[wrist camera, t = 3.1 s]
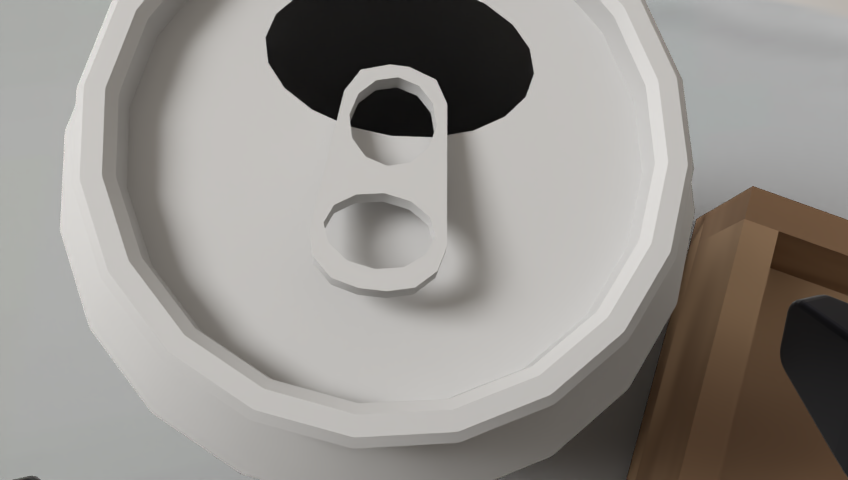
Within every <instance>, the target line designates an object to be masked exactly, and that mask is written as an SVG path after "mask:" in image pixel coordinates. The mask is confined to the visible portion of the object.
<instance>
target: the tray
mask: <svg viewBox="0 0 848 480" xmlns="http://www.w3.org/2000/svg"><path fill="white" fill-rule="evenodd" d="M816 295H829V296H831V297H834V298H837V299H839V300H842V301H844V302H847V303H848V220H846V219H843V218H841V217H838V216H835V215H832V214H829V213H827V212H824V211H821V210H818V209H815V208H813V207H810V206H807V205H804V204H801V203H799V202H796V201H793V200H790V199H787V198H785V197H782V196H779V195H776V194H773V193H771V192H768V191H765V190H762V189H759V188H757V187H754V186H752V187H751V188H749V189H747V190H745V191H744V192H742V193H740V194H739V195H737V196H735V197H734V198H732V199H730V200H728V201H727V202H725V203H723V204H722V205H720V206H718V207H716V208H715V209H713V210H711V211H710V212H708V213H706V214H704V215H703V216H701V217H699V218H698V219H696V223H695V227H694V230H693V234H692V238H691V242H690V245H689V249H688V253H687V256H686V260H685V265H684V270H683V275H682V280H681V286H680V291H679V296H678V301H677V305H676V307H675V308H674V310H673V312H672V314H671V316H670V320H669V323H668V327H667V331H666V334H665V338H664V342H663V346H662V349H661V353H660V357H659V360H658V364H657V368H656V371H655V375H654V379H653V383H652V386H651V390H650V394H649V397H648V401H647V405H646V409H645V412H644V416H643V420H642V423H641V427H640V431H639V435H638V438H637V442H636V446H635V449H634V453H633V457H632V461H631V464H630V468H629V472H628V475H627V479H626V480H848V477H847V476H846V474H845V473H844V471H843V470H842V468H841V467H840V465H839V463H838V462H837V460H836V459H835V457H834V455H833V454H832V452H831V450H830V448H829V447H828V445H827V443H826V441H825V440H824V438H823V436H822V434H821V433H820V431H819V429H818V428H817V426H816V424H815V422H814V421H813V419H812V417H811V415H810V414H809V412H808V410H807V408H806V407H805V405H804V403H803V402H802V400H801V398H800V396H799V395H798V393H797V391H796V389H795V388H794V386H793V384H792V382H791V381H790V379H789V377H788V376H787V374H786V372H785V370H784V368H783V366H782V363H781V359H780V346H781V341H782V336H783V331H784V326H785V321H786V316H787V311H788V308H789V306H790V305H791V304H792V302H794V301H796V300H798V299H803V298H807V297H812V296H816Z"/></svg>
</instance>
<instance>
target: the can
mask: <svg viewBox="0 0 848 480" xmlns="http://www.w3.org/2000/svg"><path fill="white" fill-rule="evenodd" d="M693 170H694V166H693V158H692V150H691V143H690V135H689V127H688V120H687V112H686V104H685V97H684V89H683V81H682V78H681V76H680V74H679V72H678V70H677V68H676V65H675V63H674V61H673V59H672V57H671V55H670V53H669V50H668V48H667V46H666V44H665V42H664V40H663V38H662V36H661V33H660V31H659V29H658V27H657V25H656V23H655V21H654V18H653V16H652V14H651V12H650V10H649V8H648V6H647V4H646V1H645V0H113V1H112V2H111V5H110V7H109V10H108V12H107V14H106V17H105V19H104V22H103V24H102V27H101V29H100V32H99V34H98V37H97V39H96V42H95V44H94V47H93V49H92V51H91V54H90V56H89V59H88V61H87V64H86V66H85V69H84V71H83V74H82V76H81V79H80V81H79V84H78V86H77V89H76V105H75V108H74V110H73V113H72V115H71V118H70V120H69V123H68V125H67V127H66V130H65V139H64V159H63V179H62V199H61V219H60V232H61V235H62V239H63V242H64V245H65V249H66V252H67V255H68V259H69V262H70V265H71V269H72V272H73V275H74V279H75V282H76V285H77V289H78V292H79V295H80V299H81V302H82V305H83V309H84V312H85V315H86V319H87V322H88V326H89V328H90V330H91V331H92V332H93V334H94V335H95V336H96V338H97V339H98V341H99V342H100V343H101V345H102V346H103V347H104V349H105V350H106V351H107V353H108V354H109V356H110V357H111V358H112V360H113V361H114V362H115V364H116V365H117V366H118V368H119V369H120V371H121V372H122V373H123V375H124V376H125V377H126V379H127V380H128V381H129V383H130V384H131V386H132V387H133V388H134V390H135V391H136V392H137V394H138V395H139V396H140V398H141V399H142V401H143V402H144V403H145V405H146V406H147V407H148V409H149V410H150V411H151V413H152V414H154V415H155V416H157V417H158V418H160V419H161V420H163V421H164V422H165V423H167V424H168V425H170V426H171V427H173V428H174V429H176V430H177V431H179V432H180V433H182V434H183V435H184V436H186V437H187V438H189V439H190V440H192V441H193V442H195V443H196V444H198V445H199V446H201V447H202V448H203V449H205V450H206V451H208V452H209V453H211V454H212V455H214V456H215V457H217V458H218V459H220V460H221V461H222V462H224V463H225V464H227V465H228V466H230V467H231V468H233V469H234V470H236V471H237V472H239V473H240V474H242V475H246V476H249V477H253V478H257V479H260V480H496V479H498V478H500V477H503V476H505V475H508V474H510V473H513V472H515V471H517V470H520V469H522V468H525V467H527V466H529V465H532V464H534V463H537V462H539V461H542V460H544V459H546V458H549V457H551V456H553V455H554V454H555V453H556V452H557V451H559V450H560V449H561V448H562V447H563V446H564V445H565V444H567V443H568V442H569V441H570V440H571V439H572V438H573V437H575V436H576V435H577V434H578V433H579V432H580V431H581V430H582V429H584V428H585V427H586V426H587V425H588V424H589V423H590V422H592V421H593V420H594V419H595V418H596V417H597V416H598V415H600V414H601V413H602V412H603V411H604V410H605V409H606V408H607V407H609V406H610V405H611V404H612V403H613V402H614V401H615V400H617V399H618V398H619V397H620V396H621V395H622V394H623V393H625V392H626V391H627V390H628V389H629V387H630V386H631V384H632V382H633V380H634V378H635V377H636V375H637V373H638V371H639V370H640V368H641V366H642V364H643V363H644V361H645V359H646V357H647V356H648V354H649V352H650V350H651V349H652V347H653V345H654V343H655V342H656V340H657V338H658V336H659V335H660V333H661V331H662V329H663V328H664V326H665V324H666V322H667V321H668V319H669V317H670V315H671V314H672V312H673V310H674V308H675V307H676V305H677V301H678V296H679V291H680V286H681V280H682V275H683V270H684V265H685V260H686V255H687V249H688V244H689V239H690V234H691V229H692V223H693V218H694V213H695V209H694V201H693V193H692V185H691V181H692V175H693Z"/></svg>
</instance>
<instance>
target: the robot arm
mask: <svg viewBox="0 0 848 480" xmlns="http://www.w3.org/2000/svg"><path fill="white" fill-rule="evenodd" d="M780 359H781V363H782V366H783V368H784V370H785V372H786V374H787V376H788V377H789V379H790V381H791V382H792V384H793V386H794V388H795V389H796V391H797V393H798V395H799V396H800V398H801V400H802V402H803V403H804V405H805V407H806V408H807V410H808V412H809V414H810V415H811V417H812V419H813V421H814V422H815V424H816V426H817V428H818V429H819V431H820V433H821V434H822V436H823V438H824V440H825V441H826V443H827V445H828V447H829V448H830V450H831V452H832V454H833V455H834V457H835V459H836V460H837V462H838V463H839V465H840V467H841V468H842V470H843V471H844V473H845V474H846V476H847V477H848V303H847V302H844V301H842V300H839V299H837V298H834V297H831V296H829V295H816V296H812V297H807V298H803V299H798V300H796V301H794V302H792V304H791V305H790V306H789V308H788V311H787V316H786V321H785V326H784V331H783V336H782V341H781V346H780ZM14 480H40V479H39V478H38V477H36V476H27V477H23V478H19V479H14Z"/></svg>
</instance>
